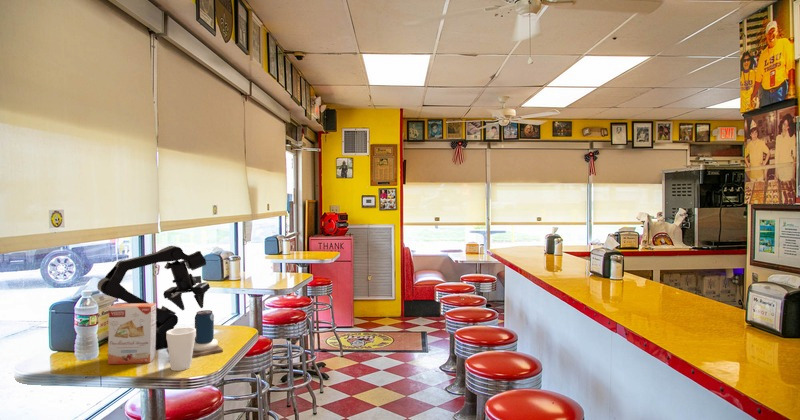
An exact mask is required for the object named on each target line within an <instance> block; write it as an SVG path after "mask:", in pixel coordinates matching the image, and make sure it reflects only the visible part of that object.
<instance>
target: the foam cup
mask: <svg viewBox="0 0 800 420" xmlns="http://www.w3.org/2000/svg"><path fill="white" fill-rule="evenodd" d="M195 337H196V329H195V327H190V326H185V327H182V326H181V327H174V329H171V330H169V331H167V333H166V340H167V343H168V347H167V350H168V351H167V352H168V358H169V365H170V370H172V371H175V372H177V371H178V372H179V371H186V370H188V369H190V368H191V365H192V359H193V358H192V354H193V347H194V341H195Z"/></svg>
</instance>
